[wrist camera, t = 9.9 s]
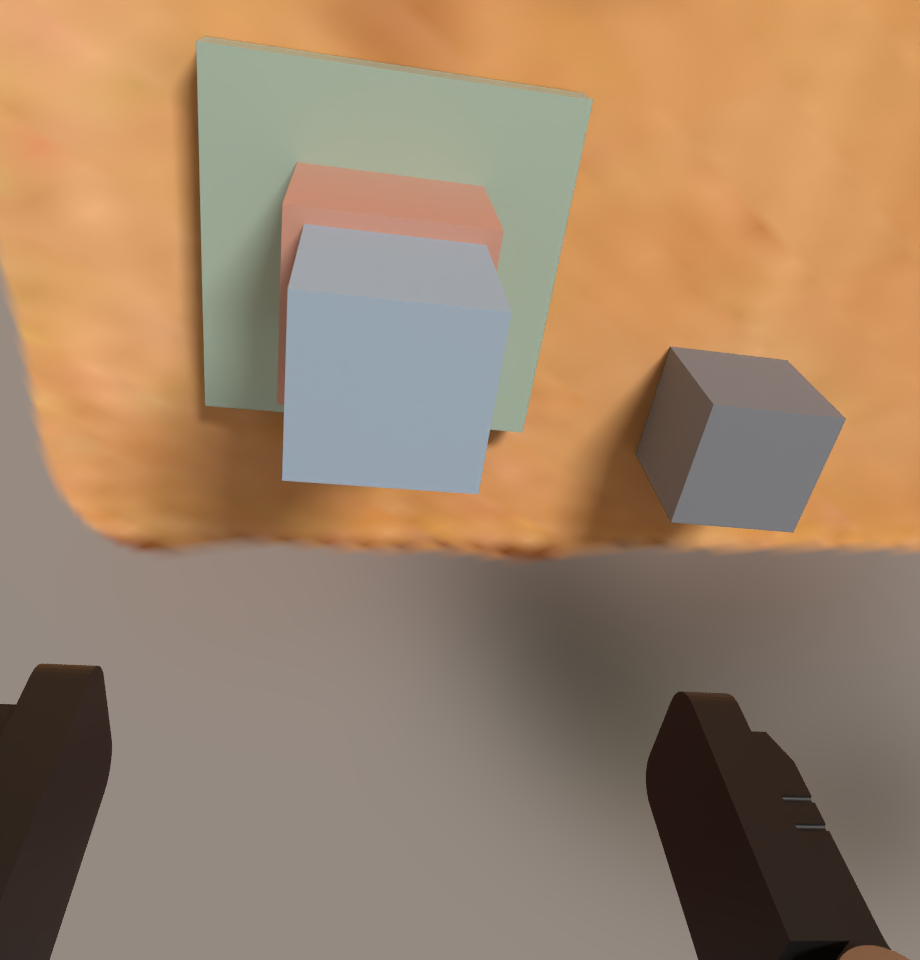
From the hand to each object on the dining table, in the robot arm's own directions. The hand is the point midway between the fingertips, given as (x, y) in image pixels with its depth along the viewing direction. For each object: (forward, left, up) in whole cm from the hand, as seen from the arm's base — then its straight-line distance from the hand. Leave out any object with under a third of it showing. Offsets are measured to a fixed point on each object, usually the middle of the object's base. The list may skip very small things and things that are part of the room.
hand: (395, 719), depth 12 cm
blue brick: (0, 0, -15) cm, 15 cm away
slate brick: (-14, +5, -21) cm, 26 cm away
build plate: (0, 0, -21) cm, 21 cm away
